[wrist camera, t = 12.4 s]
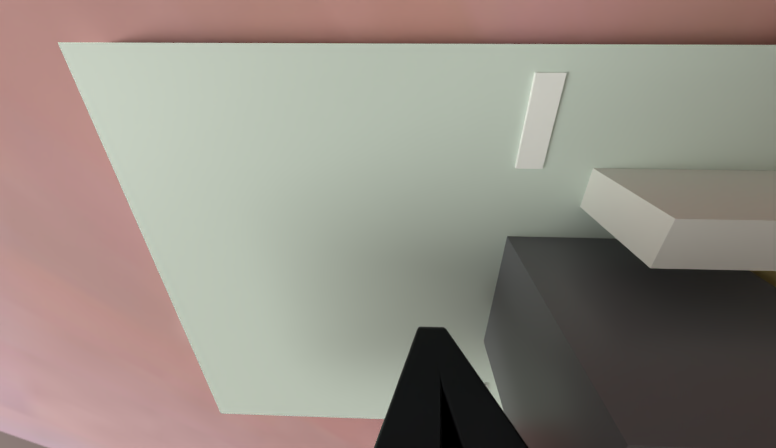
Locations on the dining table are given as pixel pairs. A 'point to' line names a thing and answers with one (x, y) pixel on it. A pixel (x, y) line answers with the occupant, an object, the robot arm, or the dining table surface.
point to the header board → (414, 188)
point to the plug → (630, 349)
